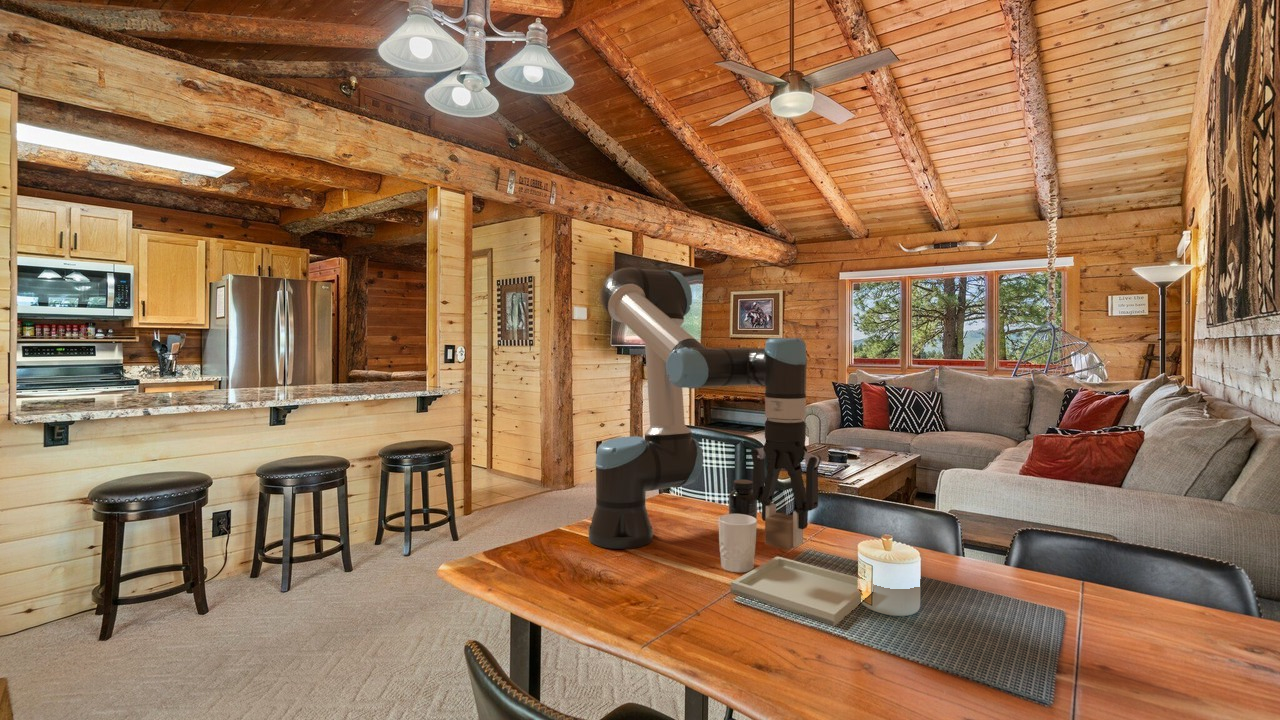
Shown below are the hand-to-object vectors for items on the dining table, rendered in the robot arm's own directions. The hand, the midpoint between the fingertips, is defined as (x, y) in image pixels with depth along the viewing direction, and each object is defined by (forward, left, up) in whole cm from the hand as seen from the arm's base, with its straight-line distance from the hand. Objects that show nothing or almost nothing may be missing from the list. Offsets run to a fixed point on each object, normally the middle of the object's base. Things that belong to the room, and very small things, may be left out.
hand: (784, 541), depth 116 cm
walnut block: (0, 0, 0) cm, 1 cm away
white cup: (-12, +3, -9) cm, 15 cm away
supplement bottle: (-24, +25, -9) cm, 36 cm away
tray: (+4, 0, -9) cm, 10 cm away
